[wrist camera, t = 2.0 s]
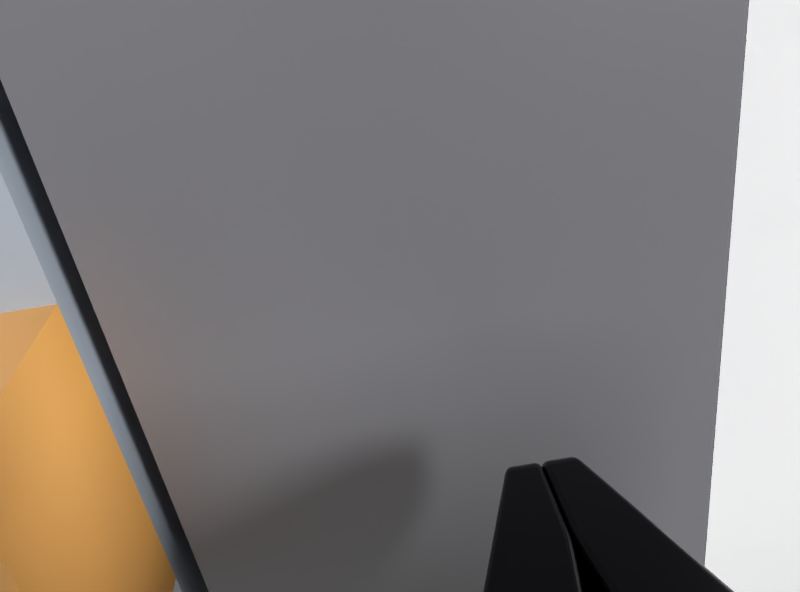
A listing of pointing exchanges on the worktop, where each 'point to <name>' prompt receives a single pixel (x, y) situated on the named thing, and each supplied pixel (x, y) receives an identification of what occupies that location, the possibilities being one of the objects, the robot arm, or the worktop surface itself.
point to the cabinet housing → (394, 259)
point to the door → (69, 420)
